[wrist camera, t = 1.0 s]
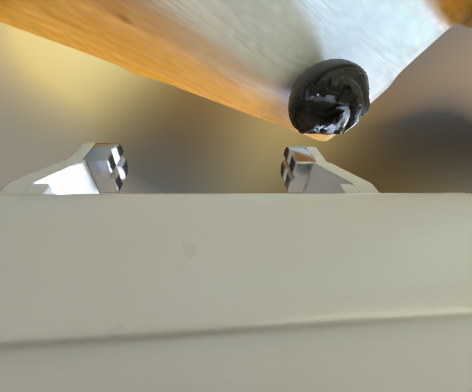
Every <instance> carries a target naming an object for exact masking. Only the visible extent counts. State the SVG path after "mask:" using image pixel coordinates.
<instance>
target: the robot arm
mask: <svg viewBox="0 0 472 392" xmlns="http://www.w3.org/2000/svg"><path fill="white" fill-rule="evenodd" d="M122 154H123V149H122V146H121V145H120V144H115V143H84V144H83V145H82V146H81V147H80V148H79V149H78V150H77V151H76V153H75V154H74V155H73V156H72V157H71V158H70V159H69V160H63V161H61V162H58V163H56V164H54V165H51V166H48V167H46V168H43V169H41V170H38V171H36V172H33V173H31V174H28V175H26V176H23V177H21V178H18V179H16V180H13V181H11V182H8V183H7V184H6V185H5V186H4V187H3V188H2V189H0V392H472V194H468V193H379V192H378V191H377V190H376V188H375V187H374V186H373V185H372V184H371V183H369V182H367V181H365V180H363V179H361V178H359V177H357V176H355V175H353V174H351V173H349V172H347V171H345V170H343V169H341V168H339V167H337V166H335V165H333V164H331V163H327V162H326V161H325V159H324V158H323V157H322V155H321V154H320V152H319V151H318V150H317V148H316V147H286V149H285V152H284V156H285V160H284V161H283V162H282V165H281V177H282V179H283V180H285V187H286V189H287V192H290V193H291V194H290V193H282V194H281V193H278V194H277V193H276V194H275V193H272V194H271V193H268V194H267V193H264V194H100V193H119V191H120V189H121V187H122V185H123V183H122V180H124V179H125V178H126V176H127V172H128V166H127V162H126V160H125V159H124V158H123V157H122ZM293 192H294V193H293Z"/></svg>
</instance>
